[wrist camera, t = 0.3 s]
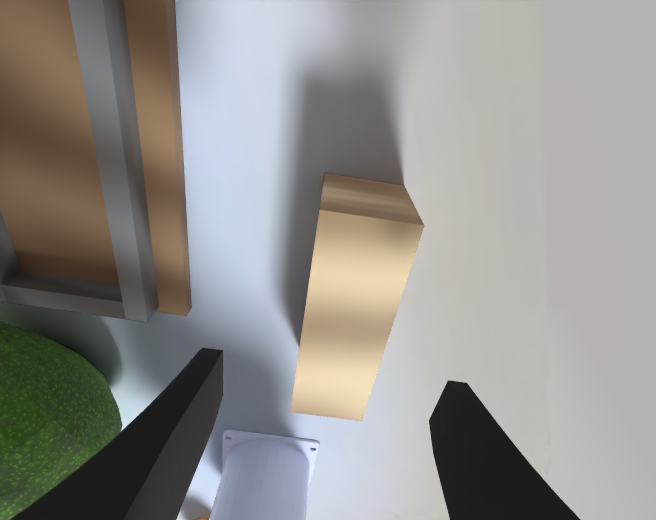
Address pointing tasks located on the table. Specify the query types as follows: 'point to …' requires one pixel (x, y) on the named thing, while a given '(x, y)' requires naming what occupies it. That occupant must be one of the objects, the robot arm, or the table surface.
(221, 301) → the table surface
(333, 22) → the table surface
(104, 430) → the fruit
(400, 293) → the wooden block
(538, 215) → the table surface
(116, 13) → the channel
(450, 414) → the robot arm
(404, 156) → the table surface
